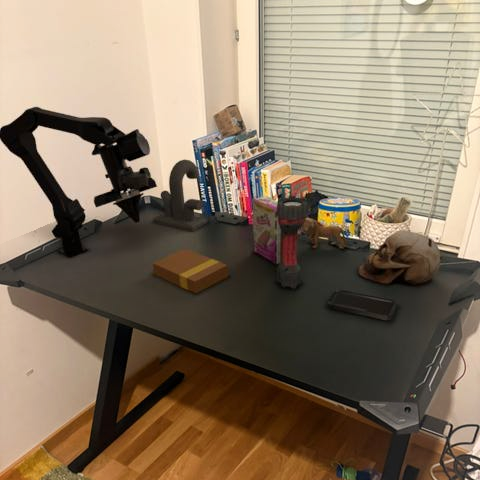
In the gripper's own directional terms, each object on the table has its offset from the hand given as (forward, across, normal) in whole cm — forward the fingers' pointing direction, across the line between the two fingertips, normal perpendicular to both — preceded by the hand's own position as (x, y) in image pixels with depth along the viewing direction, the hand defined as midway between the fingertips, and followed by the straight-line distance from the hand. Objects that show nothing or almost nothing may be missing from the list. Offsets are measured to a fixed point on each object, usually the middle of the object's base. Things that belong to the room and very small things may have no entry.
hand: (137, 222), depth 136 cm
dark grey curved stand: (+6, +32, +14) cm, 36 cm away
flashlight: (+27, +10, -37) cm, 47 cm away
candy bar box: (+22, +22, -24) cm, 39 cm away
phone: (+34, +10, -56) cm, 66 cm away
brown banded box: (+13, +1, -6) cm, 14 cm away
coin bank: (+34, +29, -57) cm, 72 cm away
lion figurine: (+25, +36, -34) cm, 55 cm away
